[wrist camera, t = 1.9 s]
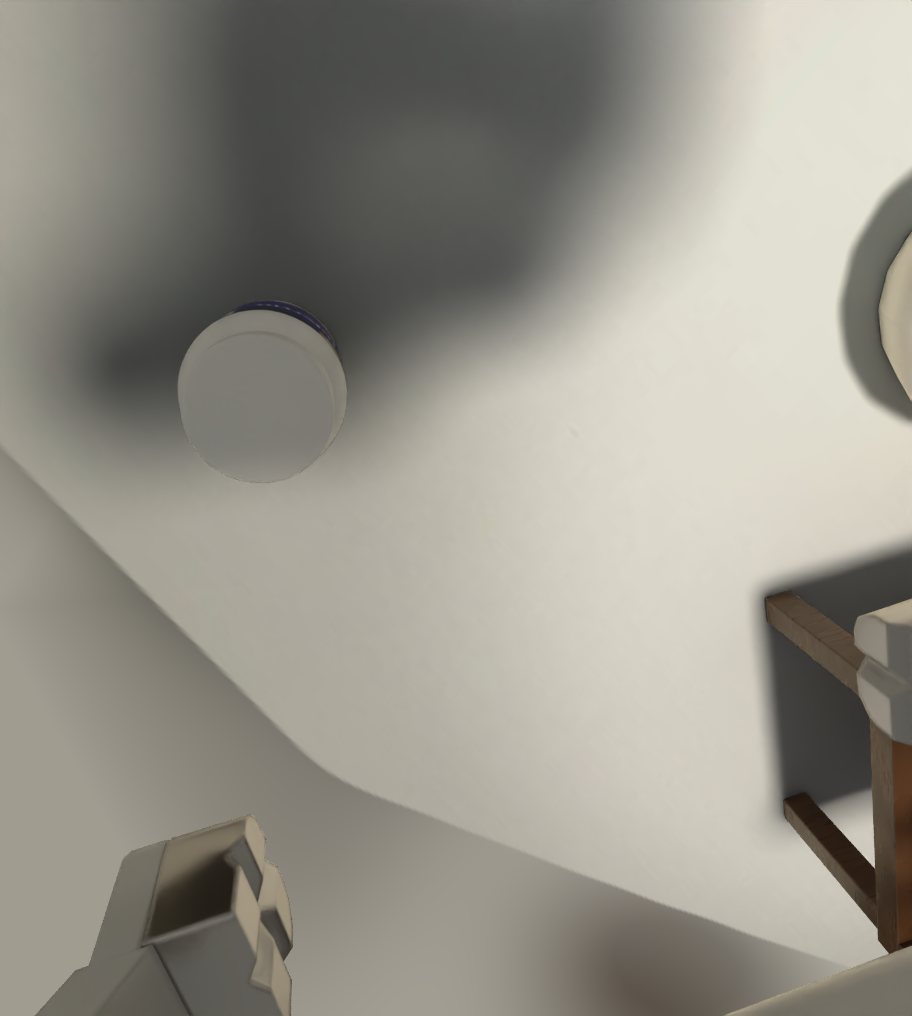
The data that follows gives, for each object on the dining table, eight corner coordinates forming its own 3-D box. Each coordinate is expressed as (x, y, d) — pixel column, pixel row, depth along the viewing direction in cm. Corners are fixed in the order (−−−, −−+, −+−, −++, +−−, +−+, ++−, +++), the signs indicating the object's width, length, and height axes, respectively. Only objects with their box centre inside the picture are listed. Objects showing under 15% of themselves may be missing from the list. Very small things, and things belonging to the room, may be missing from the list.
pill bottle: (367, 356, 33) (389, 397, 24) (289, 457, 34) (280, 535, 25) (256, 268, 31) (234, 276, 22) (176, 377, 32) (121, 430, 23)
